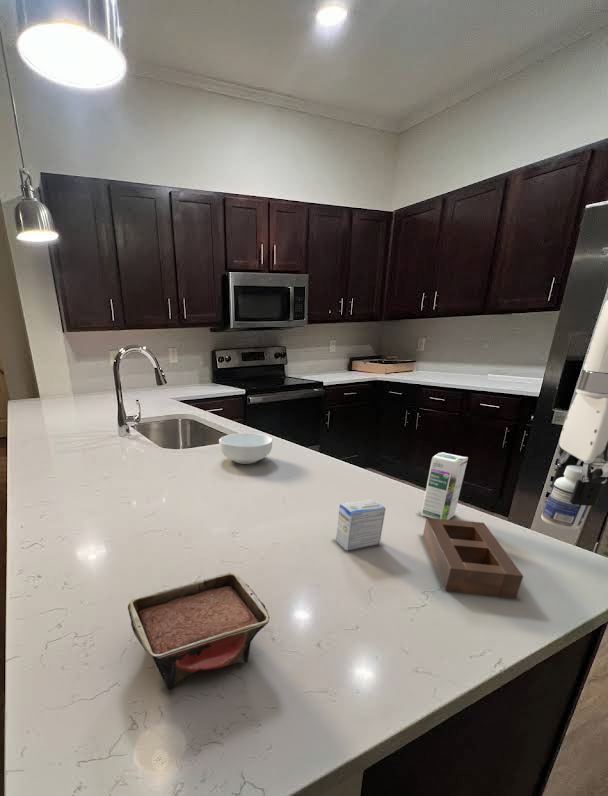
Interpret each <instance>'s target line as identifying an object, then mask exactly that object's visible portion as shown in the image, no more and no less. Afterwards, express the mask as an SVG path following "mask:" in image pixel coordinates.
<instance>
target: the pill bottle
mask: <svg viewBox="0 0 608 796" xmlns="http://www.w3.org/2000/svg"><path fill="white" fill-rule="evenodd" d="M582 469H583V466H580V465H579V466H572V465H570V466H567V467H566V469H565V472H564V477H561V478H558V479H557V480H556V481H555V483H554V485H553V488H551V490H550V493H549V495H548V497H547V500H546V503H545V505H544V508H543V510H542V512H541V516H540V518H541V520H542V521H543V522H545V524H548V525H550V526H553V527H554V528H558V529H563V530H577V529H579V528H580V527H581V525H582V523H583V520H584V518H585V516H586V514H587V511H588V509H589V507H590V506H587V505H573V504H572V503H570V499H571V496H572V494H573V491H574V488H575V485H576V482H577V480H581V476H582ZM594 470H595V469H592V468H591V472H593V471H594Z"/></svg>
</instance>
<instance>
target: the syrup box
mask: <svg viewBox="0 0 608 796" xmlns="http://www.w3.org/2000/svg"><path fill="white" fill-rule="evenodd" d="M468 460H469V457H468V456H462V455H457V454H453V453H447V452H444V451H443V452H438V453H437V454H435V455H434V456H432V458H431V461H430V467H429V471H428V477H427V482H426V487H425V493H424V498H423V503H422V507H421V511H420V516H422V517H427V518H433V519H445V520H451V518H453V517H454V516H455V514H456V510H457V506H458V502H459V497H460V493H461V490H462V486H463V481H464V477H465V473H466V472H465V471H466V468H467V464H468Z"/></svg>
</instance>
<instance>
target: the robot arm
mask: <svg viewBox="0 0 608 796" xmlns="http://www.w3.org/2000/svg"><path fill="white" fill-rule="evenodd" d="M575 393H576V395H575V397H574V399H573V401H572V403H571V405H570V408H569V410H568V412H567V416H566V418H565V420H564V424H563V426H562V430H561V432H560V436H559V439H558V446H559V447H558V448H559V450H558V454H559V458H558V460H557V462H556V465H557V467H556V470H555V473H554V476H553V480H552V483H551V485H550V487H551V489H552V488H553V485H554V483H555V481H556V480H557V479H558V478H561V477H564V472H565V469H566V467H567V466H570V465H572V466H580V465H581V463H582V462H583V463H582V467H583V469H582V476H581V480H577V482H576V485H575V488H574V491H573V494H572V496H571V499H570V503H572V504H573V505H587V506H589V507H593V506H595V504H596V503H597V500H598V497H599V494H600V492H601V489H602V486H603V484H606V483H607V481H608V299H607V300H606V301H605V302H604V304H603V306H602V310H601V312H600V315H599V319H598V321H597V325H596V328H595V330H594V334H593V338H592V340H591V343H590V346H589V350H588V352H587V356H586V359H585V362H584V365H583V369H582V371H581V374H580V377H579V380H578V383H577V387H576V389H575ZM596 459H601V461H597V460H596ZM592 467H598V468H595V469H593V470H594V471H593V472H591V469H592Z"/></svg>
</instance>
